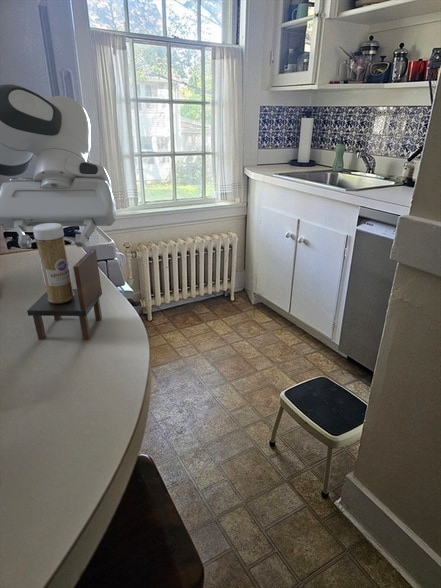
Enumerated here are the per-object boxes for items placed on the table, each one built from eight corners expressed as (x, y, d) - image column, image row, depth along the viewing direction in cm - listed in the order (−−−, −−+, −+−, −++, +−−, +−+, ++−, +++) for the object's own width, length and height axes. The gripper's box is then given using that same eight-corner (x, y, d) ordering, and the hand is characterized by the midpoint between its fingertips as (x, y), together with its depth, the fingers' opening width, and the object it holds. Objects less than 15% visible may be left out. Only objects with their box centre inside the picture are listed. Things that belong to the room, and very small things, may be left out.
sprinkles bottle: (62, 306, 67) (48, 230, 62) (42, 302, 69) (25, 227, 63) (80, 295, 71) (68, 223, 66) (60, 292, 73) (46, 221, 67)
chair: (34, 340, 69) (16, 266, 63) (55, 316, 77) (41, 248, 71) (90, 341, 68) (77, 266, 62) (105, 317, 77) (95, 248, 71)
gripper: (-6, 167, 68) (-20, 238, 63) (112, 166, 69) (107, 236, 64) (11, 188, 74) (-1, 255, 69) (120, 188, 75) (116, 253, 70)
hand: (52, 246), depth 67 cm, fingers open, 8 cm apart
